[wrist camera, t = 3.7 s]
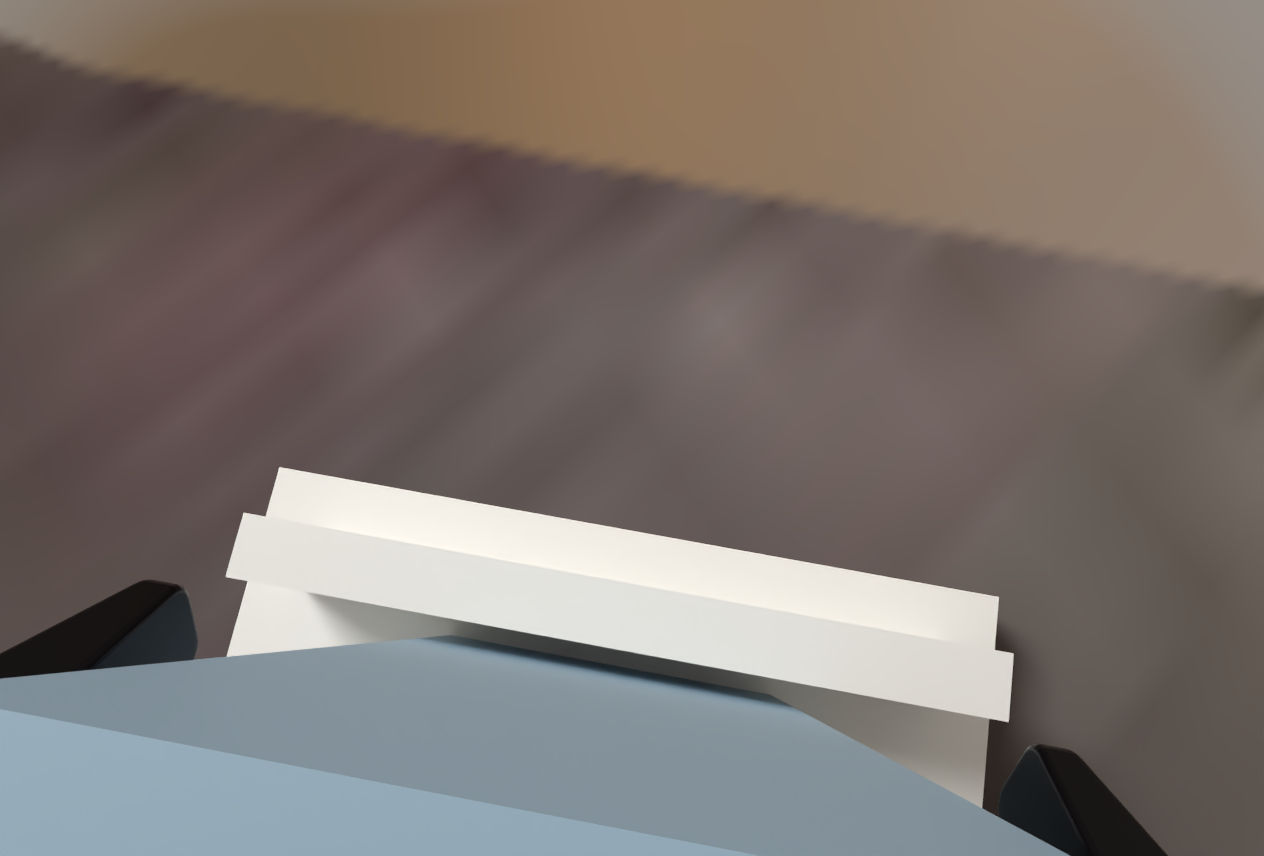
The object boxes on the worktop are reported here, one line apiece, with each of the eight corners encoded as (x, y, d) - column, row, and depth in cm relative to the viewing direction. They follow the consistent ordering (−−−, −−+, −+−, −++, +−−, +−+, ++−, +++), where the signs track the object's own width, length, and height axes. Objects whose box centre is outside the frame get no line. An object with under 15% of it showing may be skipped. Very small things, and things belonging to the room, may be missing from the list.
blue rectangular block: (754, 810, 15) (1235, 1541, 3) (426, 747, 15) (-295, 1210, 3) (770, 694, 15) (1246, 950, 4) (451, 635, 15) (-105, 688, 4)
